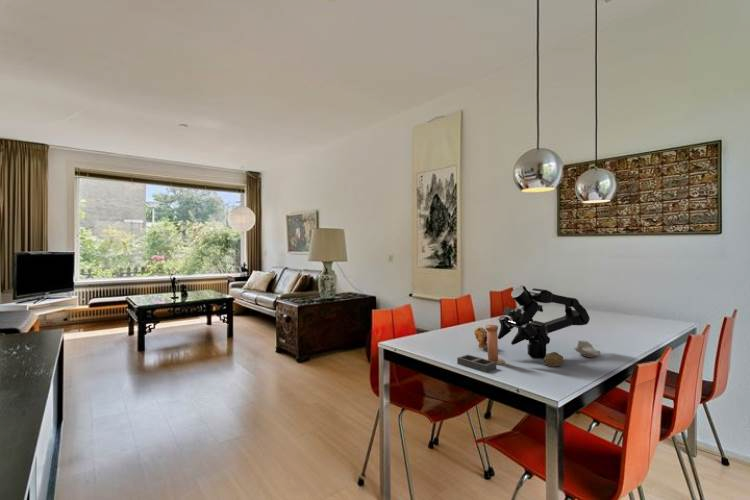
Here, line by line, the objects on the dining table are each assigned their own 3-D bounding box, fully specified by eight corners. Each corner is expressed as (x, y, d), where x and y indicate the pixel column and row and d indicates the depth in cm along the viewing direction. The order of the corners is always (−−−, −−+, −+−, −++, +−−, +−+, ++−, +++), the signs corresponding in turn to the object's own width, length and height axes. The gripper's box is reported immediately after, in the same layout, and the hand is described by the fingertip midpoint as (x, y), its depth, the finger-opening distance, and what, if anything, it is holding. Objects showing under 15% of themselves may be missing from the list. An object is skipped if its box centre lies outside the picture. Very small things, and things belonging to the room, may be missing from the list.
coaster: (501, 358, 153) (501, 357, 153) (506, 364, 145) (506, 363, 145) (482, 358, 154) (482, 357, 154) (486, 364, 146) (486, 363, 146)
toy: (493, 340, 159) (481, 318, 170) (479, 345, 159) (468, 323, 171) (498, 356, 166) (486, 334, 177) (483, 361, 166) (473, 339, 178)
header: (467, 360, 151) (467, 354, 151) (496, 368, 141) (496, 362, 141) (457, 363, 147) (457, 357, 147) (485, 372, 137) (485, 365, 137)
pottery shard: (583, 359, 150) (583, 347, 150) (565, 352, 161) (564, 341, 161) (605, 358, 152) (605, 346, 152) (585, 350, 163) (585, 339, 163)
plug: (497, 358, 152) (495, 324, 151) (500, 362, 147) (499, 327, 146) (485, 358, 152) (484, 325, 151) (489, 362, 147) (487, 327, 146)
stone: (539, 358, 155) (541, 347, 155) (557, 364, 153) (560, 352, 153) (542, 365, 142) (545, 353, 142) (563, 371, 140) (565, 358, 140)
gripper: (501, 297, 161) (480, 324, 158) (530, 303, 143) (506, 334, 140) (517, 313, 163) (496, 340, 161) (547, 321, 145) (524, 352, 143)
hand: (504, 341), depth 151 cm, fingers open, 9 cm apart
